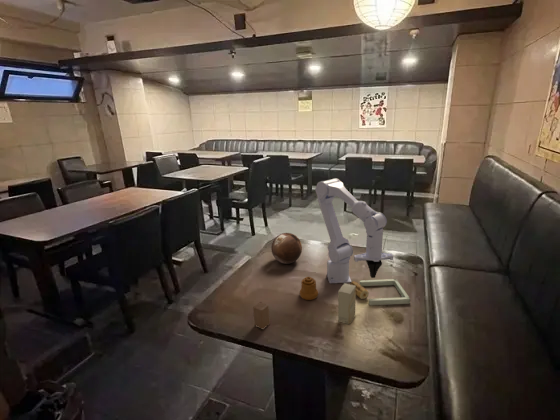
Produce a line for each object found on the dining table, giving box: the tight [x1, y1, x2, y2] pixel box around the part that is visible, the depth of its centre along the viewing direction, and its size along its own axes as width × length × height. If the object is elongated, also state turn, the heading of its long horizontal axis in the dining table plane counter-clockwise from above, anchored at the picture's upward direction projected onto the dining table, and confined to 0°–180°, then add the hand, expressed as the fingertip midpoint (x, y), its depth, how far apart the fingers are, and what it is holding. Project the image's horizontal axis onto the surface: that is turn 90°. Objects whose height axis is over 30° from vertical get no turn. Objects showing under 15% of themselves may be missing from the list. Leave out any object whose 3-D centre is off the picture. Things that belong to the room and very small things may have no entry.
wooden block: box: [252, 301, 271, 328], centre depth 105 cm, size 4×4×8 cm
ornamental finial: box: [299, 276, 319, 301], centre depth 121 cm, size 8×8×8 cm
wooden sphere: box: [271, 232, 303, 265], centre depth 149 cm, size 15×15×15 cm
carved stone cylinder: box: [350, 280, 369, 300], centre depth 121 cm, size 8×4×4 cm, turn 18°
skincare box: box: [337, 283, 357, 325], centre depth 106 cm, size 6×4×12 cm
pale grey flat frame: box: [359, 278, 411, 306], centre depth 121 cm, size 15×14×2 cm
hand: (372, 276), depth 119 cm, fingers closed
